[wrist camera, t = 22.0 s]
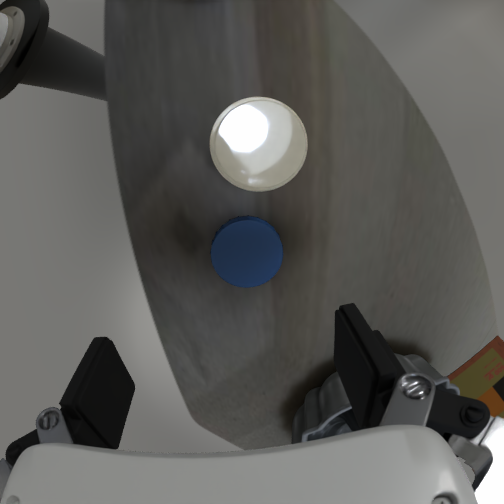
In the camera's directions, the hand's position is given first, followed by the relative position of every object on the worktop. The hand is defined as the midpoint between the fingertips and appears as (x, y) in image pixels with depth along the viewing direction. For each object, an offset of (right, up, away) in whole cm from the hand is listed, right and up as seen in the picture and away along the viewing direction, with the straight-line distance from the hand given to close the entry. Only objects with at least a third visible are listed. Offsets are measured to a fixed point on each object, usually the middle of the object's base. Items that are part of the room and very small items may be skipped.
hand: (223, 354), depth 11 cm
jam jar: (+1, +14, +15) cm, 21 cm away
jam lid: (+1, +4, +17) cm, 18 cm away
